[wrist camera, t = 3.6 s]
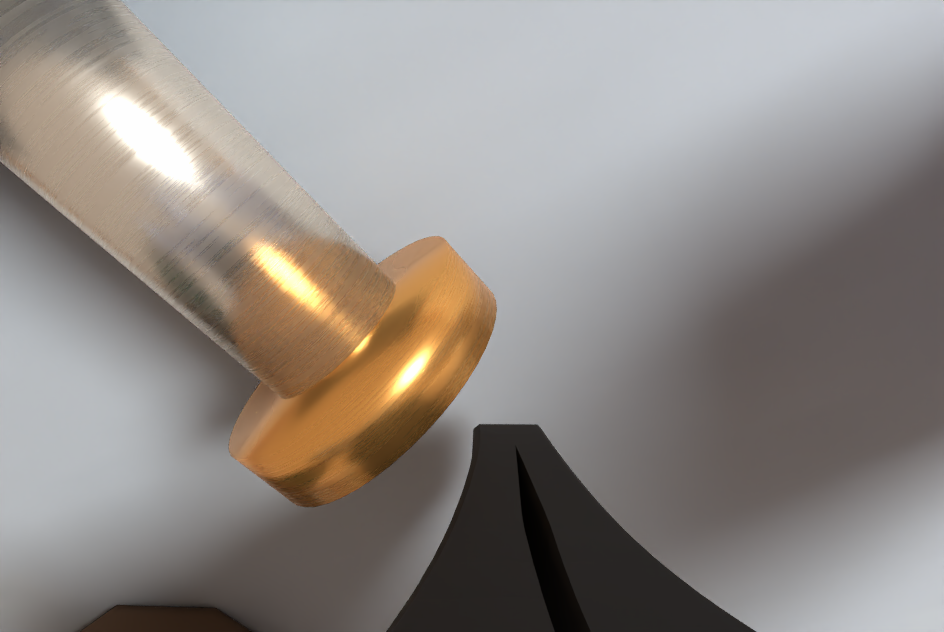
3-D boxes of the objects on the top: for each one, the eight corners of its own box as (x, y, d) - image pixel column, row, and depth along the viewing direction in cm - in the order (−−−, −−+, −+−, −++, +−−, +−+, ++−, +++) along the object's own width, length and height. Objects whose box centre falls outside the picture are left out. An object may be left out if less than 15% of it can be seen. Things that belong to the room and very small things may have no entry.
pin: (484, 251, 12) (514, 377, 7) (314, 387, 13) (252, 565, 8) (3, -305, 8) (-518, -717, 4) (-180, -45, 9) (-743, -118, 5)
